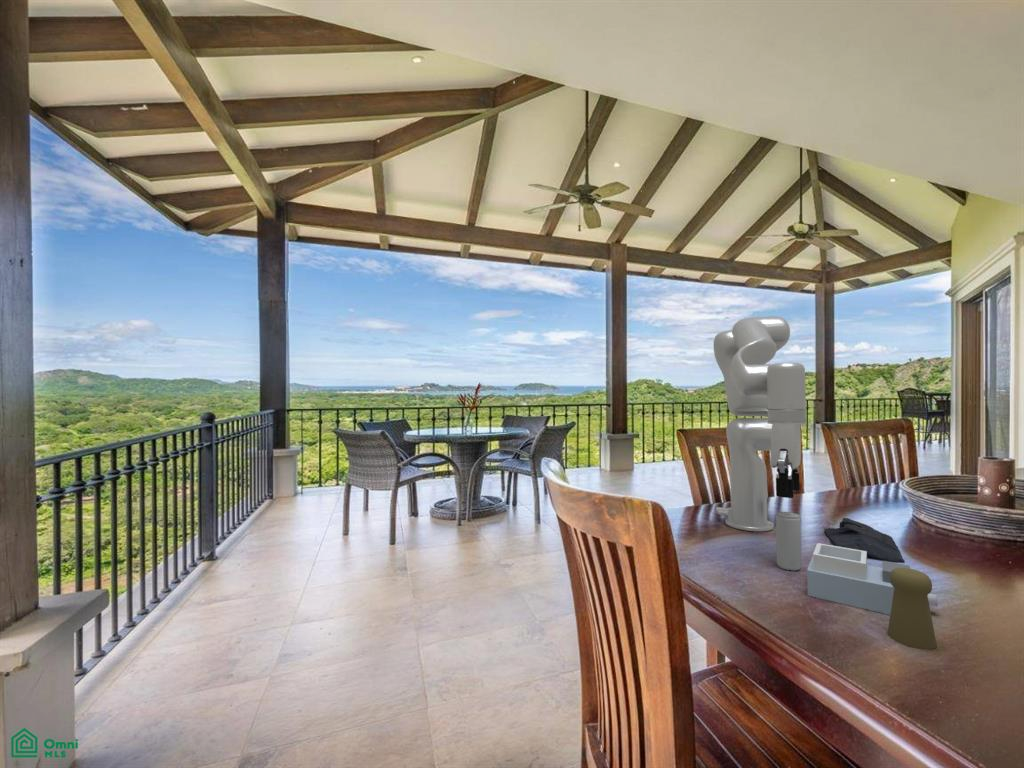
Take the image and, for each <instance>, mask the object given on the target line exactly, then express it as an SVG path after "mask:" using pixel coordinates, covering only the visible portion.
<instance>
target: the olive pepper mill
mask: <svg viewBox="0 0 1024 768" xmlns="http://www.w3.org/2000/svg"><path fill="white" fill-rule="evenodd" d="M890 582H891V585H892V586H893V587H894V594H893V600H892V607H891V613H890V615H889V619H888V620H889V621H888V628H887V635H888V636H890V637H889V638H890V639H892V640H893V639H894V640H893V641H895V642H897V643H899V644H901V643H902V644H901V645H905V646H906V645H907V646H906V647H910V648H914V649H918V650H934V649H936V648H937V647H938V646H937V645H938V644H937V639H936V634H935V629H934V623H933V618H932V612H931V607H930V606H931V605H929V601H928V594H929V593H932V590H933V583H932V579H931V577H929V575H927V574H926V573H924V572H922V571H920V570H917V569H913V568H910V569H909V568H895V569H893V570H892V571H891V573H890Z"/></svg>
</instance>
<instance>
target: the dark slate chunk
mask: <svg viewBox="0 0 1024 768" xmlns="http://www.w3.org/2000/svg"><path fill="white" fill-rule="evenodd" d="M838 526H839V527H837V528H833V527H827V528H824V529H823V531H824V532H825V533H826V536H827V538H829V540H830V539H831V541H832V543H833V544H834V546H838V547H844V548H850V549H856V550H862V551H867V558H872V559H876V560H877V559H878V560H881V561H887V562H892V563H901V564H904V563H905V559H904V558H903V555H902V552H901V550H900V548H899V547H898V545H897V544H896V542H895V540H894V538H893V537H892V536H891V535H890V534H887V533H883V532H881V531H879V530H877V529H875V528H874V527H872V526H869V525H867V524H866V523H862V522H860V521H858V520H857V521H856V520H853V519H852V518H848V517H843V518H842V520H841V521H840V522H839V525H838Z"/></svg>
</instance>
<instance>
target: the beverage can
mask: <svg viewBox="0 0 1024 768" xmlns="http://www.w3.org/2000/svg"><path fill="white" fill-rule="evenodd" d="M801 521H802V520H801V515H800V514H798V513H795V512H792V511H777V512H776V515H775V536H776V537H775V541H776V542H775V543H776V545H775V546H776V547H775V549H776V565H777V566H778V567H779V568H781V569H783V570H785V569H786V571H789V570H791V571H790V572H797V570H798V571H799V570H800V569H801V568H802V522H801Z"/></svg>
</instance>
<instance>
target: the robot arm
mask: <svg viewBox="0 0 1024 768" xmlns="http://www.w3.org/2000/svg"><path fill="white" fill-rule="evenodd" d="M790 337H791V328H790V324H789V323H788V321H787V320H786V319H785V318H784V317H782V316H751V317H745V318H742V319H740V320H737V321H736V322H735V323H734V324H733V326H732V329H728V330H724V331H721V332H718V333H717V334H716V335H715V336H714V340H713V353H714V358H715V360H716V363H717V366H718V368H719V370H720V372H721V374H722V376H723V380H724V388H725V397H726V402H727V406H728V410H729V412H730V413H731V414H732V415H734V416H736V417H737V416H738V417H739V418H735V419H732V420H730V421H729V422H728V423H727V425H726V431H725V432H726V440H727V445H728V452H729V465H730V466H729V467H730V469H729V470H730V471H729V474H730V475H729V477H730V479H729V481H730V507H727V508H725V507H720V506H716V507H715V513H716V514H718V515H720V516H726V518H725V519H724V520H725V521H724V522H725V524H726V526H729V527H730V528H733V529H738V530H741V531H742V530H743V531H748V532H769V531H772V530H774V527H775V526H774V525H775V524H774V523H773V522H772V521H770V520H768V487H767V486H768V483H767V482H768V479H767V478H768V474H767V466H766V463H765V461H764V460H763V459H762V457H761V456H759V455H758V453H757V452H762V451H764V452H766V451H767V452H770V462H769V464H770V465H769V466H770V467H771V468H772V469H775V468H776V474H775V475H776V476H775V495H776V497H778V498H787V499H794V491H796V492H798V491H799V490H801V489H800V488H801V487H800V486H801V484H800V483H801V482H800V473H799V471H800V470H799V466H801V459H802V454H801V453H802V437H801V436H802V434H801V433H802V432H801V425H802V426H803V425H807V399H806V398H807V397H806V396H807V395H806V369H805V366H804V365H803V364H802V363H799V362H777V363H769V362H771V360H772V359H774V357H775V356H776V353H777V352H778V351H779V350H781V349H782V348H783V347H785V346H786V345H787V343H788V342H789V339H790Z"/></svg>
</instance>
